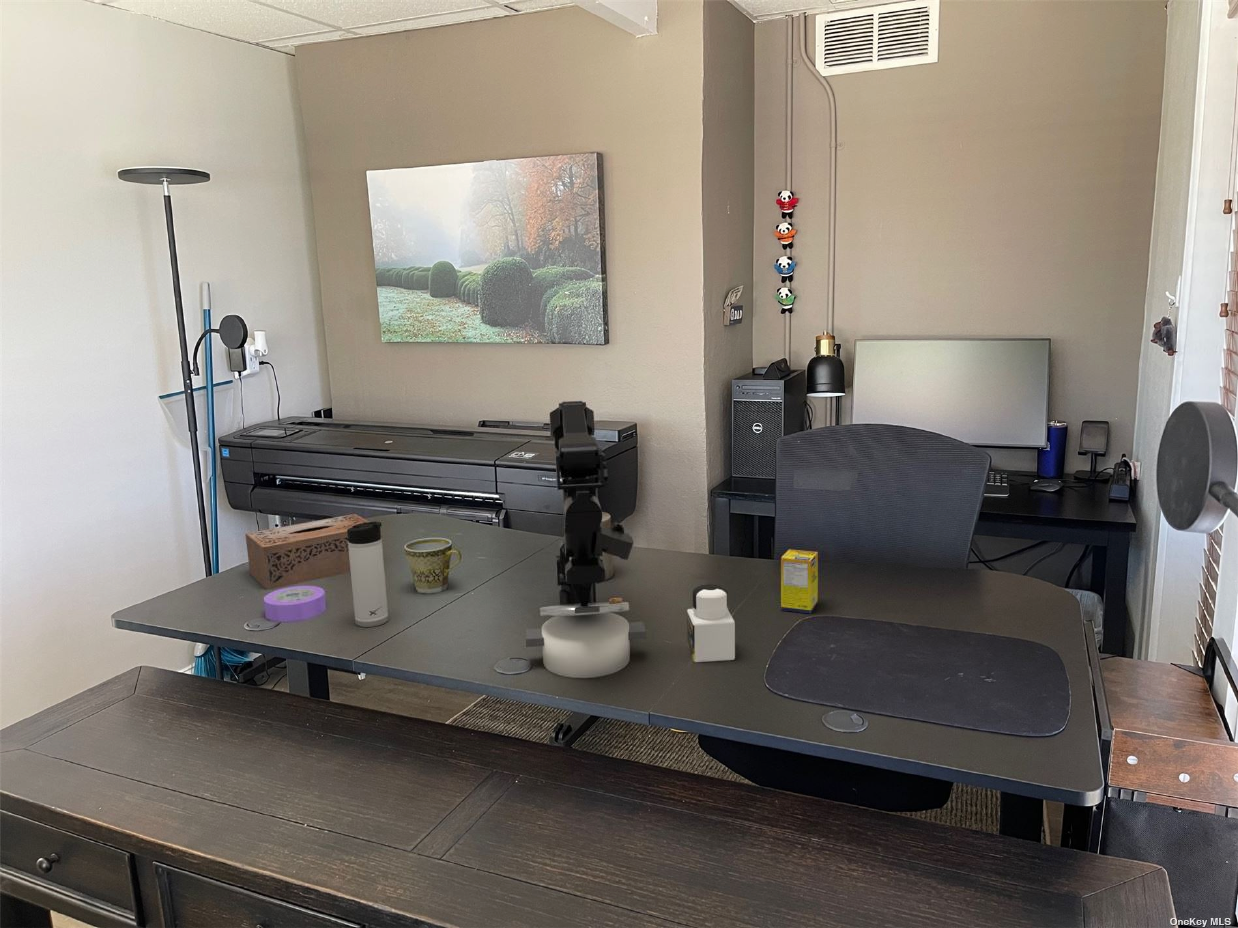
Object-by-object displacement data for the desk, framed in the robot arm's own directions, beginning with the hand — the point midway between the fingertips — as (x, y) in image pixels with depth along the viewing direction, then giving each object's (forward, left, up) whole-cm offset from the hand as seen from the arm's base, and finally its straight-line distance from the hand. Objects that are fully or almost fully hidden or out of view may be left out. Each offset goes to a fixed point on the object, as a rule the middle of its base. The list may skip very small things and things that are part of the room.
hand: (584, 605), depth 151 cm
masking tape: (+31, -59, -11) cm, 68 cm away
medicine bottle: (-19, +11, -11) cm, 24 cm away
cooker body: (-1, -1, -10) cm, 10 cm away
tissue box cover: (+19, -84, -11) cm, 87 cm away
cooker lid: (0, -1, -2) cm, 2 cm away
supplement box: (-47, +6, -11) cm, 48 cm away
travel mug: (+21, -43, -11) cm, 49 cm away
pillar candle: (-27, -37, -11) cm, 47 cm away
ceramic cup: (+3, -52, -11) cm, 53 cm away
